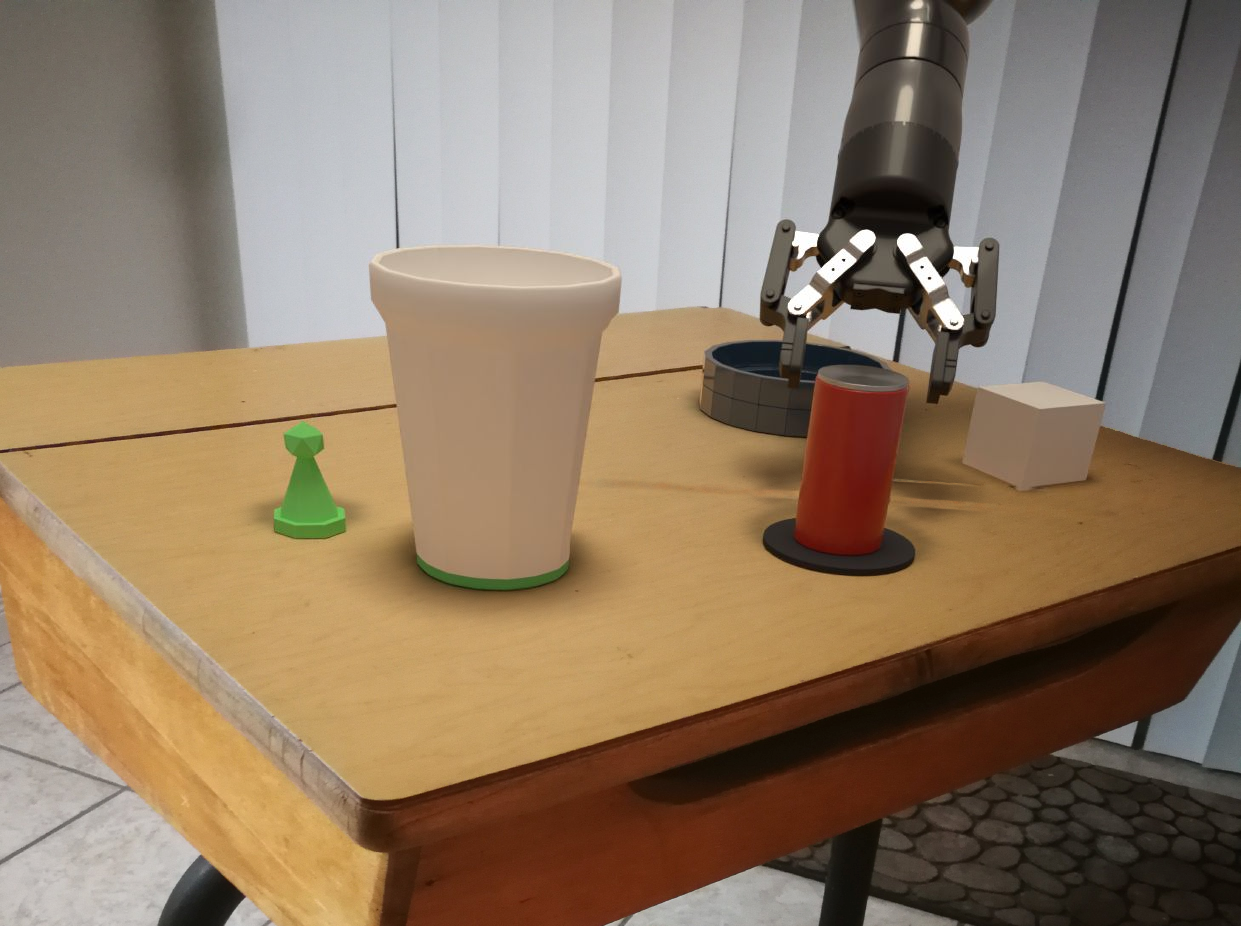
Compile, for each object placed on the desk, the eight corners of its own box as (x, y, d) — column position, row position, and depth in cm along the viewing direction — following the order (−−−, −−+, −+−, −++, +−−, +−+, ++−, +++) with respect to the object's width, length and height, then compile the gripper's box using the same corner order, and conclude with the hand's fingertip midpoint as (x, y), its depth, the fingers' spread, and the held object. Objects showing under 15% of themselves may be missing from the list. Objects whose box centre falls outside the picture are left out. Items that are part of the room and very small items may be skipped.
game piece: (360, 532, 75) (355, 427, 72) (289, 543, 73) (281, 435, 70) (329, 510, 78) (323, 407, 75) (260, 520, 76) (251, 415, 73)
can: (873, 528, 80) (901, 367, 74) (887, 558, 75) (918, 389, 70) (789, 523, 80) (811, 361, 74) (798, 553, 75) (822, 383, 70)
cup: (453, 622, 65) (452, 294, 57) (340, 545, 73) (324, 248, 65) (650, 579, 71) (674, 279, 63) (526, 513, 80) (532, 239, 71)
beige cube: (1083, 491, 90) (1106, 402, 87) (1018, 500, 88) (1040, 409, 84) (1022, 466, 95) (1042, 380, 91) (959, 473, 92) (977, 386, 89)
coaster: (900, 527, 81) (901, 521, 81) (927, 579, 74) (928, 573, 74) (756, 518, 81) (757, 512, 81) (769, 570, 74) (770, 563, 73)
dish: (865, 402, 108) (875, 346, 106) (894, 451, 96) (905, 388, 94) (695, 392, 108) (700, 334, 105) (703, 439, 96) (709, 375, 93)
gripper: (788, 108, 80) (748, 340, 77) (1024, 126, 78) (994, 365, 75) (783, 194, 87) (746, 410, 84) (999, 213, 85) (970, 434, 82)
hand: (863, 389), depth 79 cm, fingers open, 8 cm apart
